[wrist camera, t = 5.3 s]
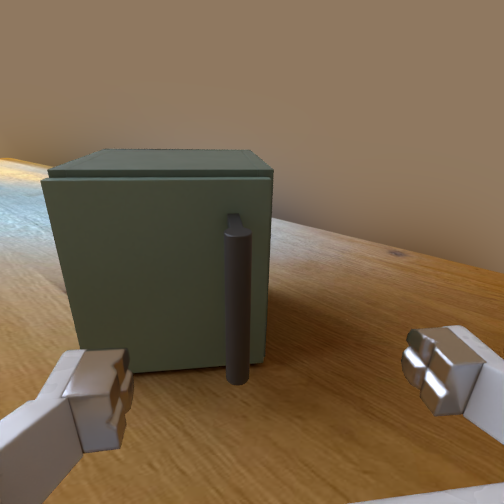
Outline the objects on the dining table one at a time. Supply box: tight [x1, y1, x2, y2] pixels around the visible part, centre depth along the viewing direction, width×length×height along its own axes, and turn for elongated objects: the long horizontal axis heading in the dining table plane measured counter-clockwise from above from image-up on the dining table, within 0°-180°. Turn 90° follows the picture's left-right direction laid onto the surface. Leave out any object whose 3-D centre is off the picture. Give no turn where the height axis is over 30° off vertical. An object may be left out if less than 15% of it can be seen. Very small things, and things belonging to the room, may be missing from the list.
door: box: [41, 177, 271, 385], centre depth 24 cm, size 6×16×17 cm, turn 97°
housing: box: [47, 149, 274, 357], centre depth 33 cm, size 14×16×18 cm
